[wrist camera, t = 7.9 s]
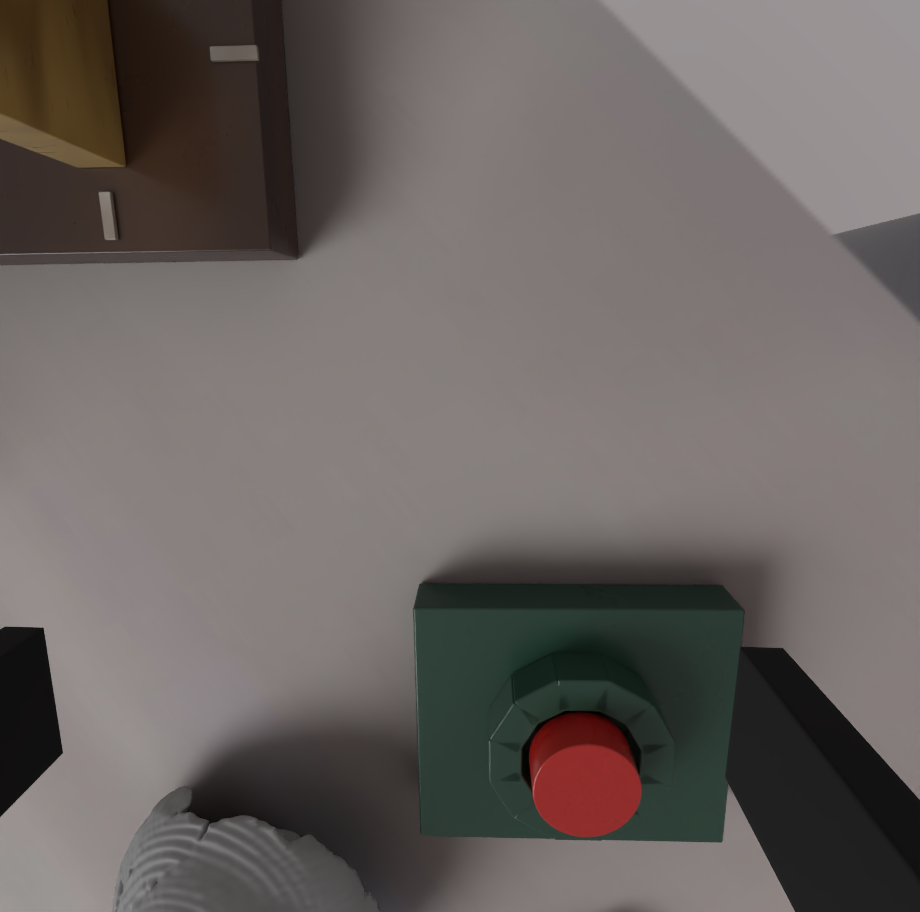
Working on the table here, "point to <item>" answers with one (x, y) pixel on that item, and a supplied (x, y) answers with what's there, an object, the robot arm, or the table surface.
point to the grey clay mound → (231, 867)
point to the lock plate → (171, 148)
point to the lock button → (583, 775)
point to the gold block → (60, 81)
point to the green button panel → (573, 699)
